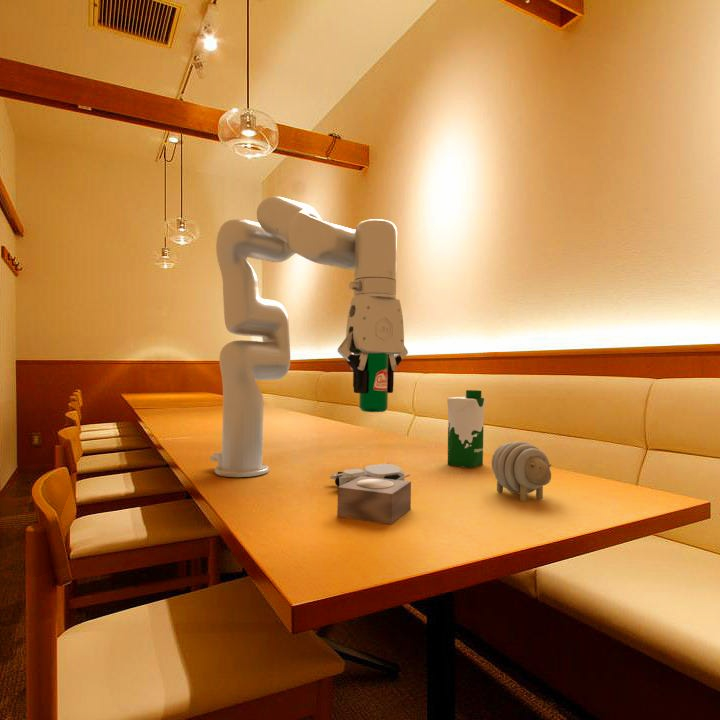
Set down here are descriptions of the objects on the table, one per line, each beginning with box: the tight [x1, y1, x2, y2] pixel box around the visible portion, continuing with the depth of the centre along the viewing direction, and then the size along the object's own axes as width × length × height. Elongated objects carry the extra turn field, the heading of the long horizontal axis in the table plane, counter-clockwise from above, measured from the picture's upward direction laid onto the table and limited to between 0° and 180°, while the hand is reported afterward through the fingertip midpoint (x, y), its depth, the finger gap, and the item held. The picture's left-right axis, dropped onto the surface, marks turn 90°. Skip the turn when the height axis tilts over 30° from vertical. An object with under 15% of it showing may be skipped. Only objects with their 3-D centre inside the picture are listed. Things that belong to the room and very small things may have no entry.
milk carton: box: [446, 389, 486, 469], centre depth 135 cm, size 9×9×20 cm
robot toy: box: [329, 462, 411, 487], centre depth 107 cm, size 12×4×15 cm
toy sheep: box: [491, 441, 552, 503], centre depth 104 cm, size 11×17×11 cm, turn 25°
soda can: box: [358, 351, 389, 413], centre depth 90 cm, size 5×5×12 cm
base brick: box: [336, 476, 412, 525], centre depth 90 cm, size 10×10×5 cm
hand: (373, 391), depth 90 cm, fingers closed on soda can, 5 cm apart
